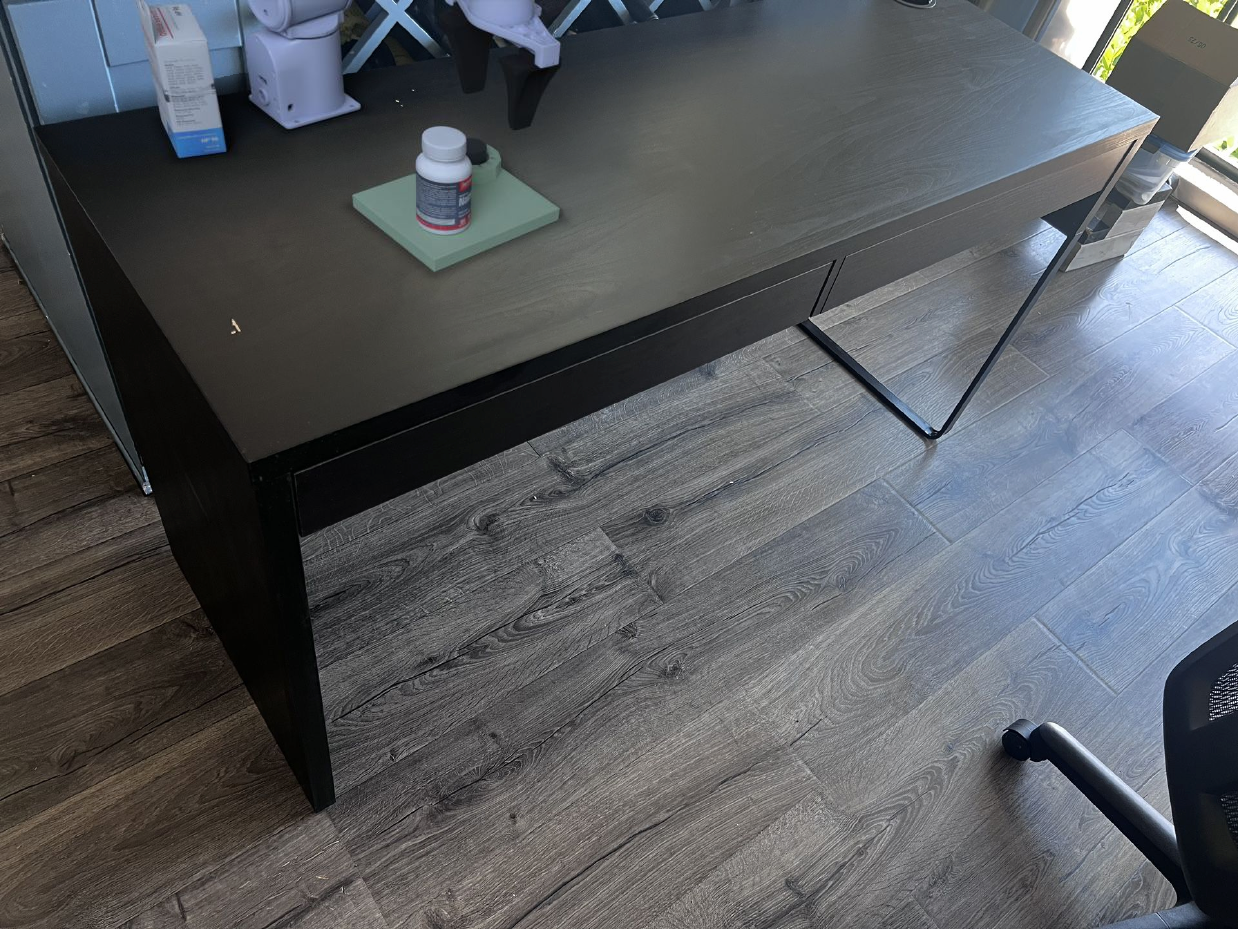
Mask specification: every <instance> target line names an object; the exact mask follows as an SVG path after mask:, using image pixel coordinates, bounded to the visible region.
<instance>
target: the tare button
mask: <svg viewBox="0 0 1238 929" xmlns="http://www.w3.org/2000/svg"><path fill="white" fill-rule="evenodd" d="M487 145H488V144H487V143H486V142H485V141H483V140H481V139H479V138H475V137H466V156H467V157H468V158H469V160H470V161H471V164H472V165H480V164H483V163H485V162H486V158H487Z"/></svg>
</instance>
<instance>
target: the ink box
mask: <svg viewBox="0 0 1238 929" xmlns="http://www.w3.org/2000/svg"><path fill="white" fill-rule="evenodd" d="M135 2H136V7H137V13H138V17H139V22H140V26H141V31H142V36H143V42H144V45H145V50H146V55H147V58H148V59H147V60H148V62H149V63H148V64H149V69H150V73H151V77H152V81H153V86H154V91H155V94H156V95H155V96H156V100H157V105H158V111H159V115H160V119H161V122H162V124H163V127H164V129H165V131H166V133H167V135H168V136H167V137H168V138H169V140H170V142H171V145H172V147H173V149H174V151H175V153H176V156H177V157H178V158H179V159H184V158H191V157H197V156H205V155H206V156H207V155H212V154H219V153H226V152H227V145H226V139H225V134H224V128H223V123H222V117H221V116H222V115H221V112H220V106H219V101H218V94H217V90H216V89H217V88H216V84H215V78H214V72H213V71H214V70H213V65H212V59H211V54H210V47H209V40H208V38H207V36H206V34H205V32H204V31H203V28H202V27H201V25H200V23H199V21H198V19H197V17H196V15H195V14H194V12H193V9H192V8H191V6H189V4H188V3H177V4H175V3H174V4H158V5H148V4H147V2H146V0H135Z"/></svg>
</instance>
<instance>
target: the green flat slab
mask: <svg viewBox="0 0 1238 929" xmlns="http://www.w3.org/2000/svg"><path fill="white" fill-rule="evenodd" d="M486 145H487V158H486V162H485V163H483V164H480V165H472V192H471V220H470V224H469V226H468V227H467V228H466V229H465V230H464V231H462V232H460V233H457V234H453V235H438V234H434V233H431V232H428V231H426V230H424V229H423V228H422V227H421V226H420V225H419V224H418V222H417V220H416V172H415V173H411V174H409V175H406V176H403V177H401V178H397V179H395V180H391V181H389V182H386V183H382V184H379V185H377V186H374V187H371V188H368V189H366V190H363V191H359V192H356V193H354V194H352V196H351V197H352V207H353V208H354V209H355V210H357V211H358V212H359V213H360V214H361V215H363V216H364V217H365V218H367V219H368V220H369V221H370V222H371V223H373V224H374V225H375V226H377V227H378V228H379V229H380V230H381V231H382V232H384V233H385V234H386V235H388V236H389V237H390V238H391V239H393V240H394V242H396V243H398V245H400V246H401V247H403V248H404V249H405V250H406V251H408V252H409V253H410V254H411V255H412V256H414V257H415V258H416V259H418V260H419V261H420V262H421V263H423V264H424V265H425V266H426V267H428V268H429V269H430V270H431V271H432V272H434V273H435V272H438V271H440V270H443V269H445V268H448V267H450V266H452V265H454V264H458V263H459V262H462V261H464V260H466V259H468V258H471V257H473V256H476V255H478V254H481V253H483V252H487V250H491V249H492V248H495V247H497V246H501V245H502V244H504V243H507V242H510V241H511V240H514V239H516V238H520V237H521V236H524V235H527V234H528V233H530V232H533V231H536V230H538V229H540V228H543V227H545V226H548V225H550V224H552V223H555V222H556V221H559V218H560V210H561V207H559V206H557V205H556V204H555V203H553V202H551V200H549V199H547V198H546V197H544V196H543V195H542V194H540V193H539V192H537V191H536V190H534V189H533V188H532V187H530V186H528V185H527V184H526V183H525V182H523V181H521V180H520V179H519V178H517V177H516V176H514V175H513V174H511V173H510V172H508V171H507V170H505V169H504V168H503V167H502V157H501V155H500V152H499V151H498V150H497V149H495V148H494V147H492V146H491V145H490V144H486Z"/></svg>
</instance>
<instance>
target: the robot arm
mask: <svg viewBox="0 0 1238 929" xmlns="http://www.w3.org/2000/svg"><path fill="white" fill-rule="evenodd" d="M353 1H354V0H247V4H248V6H249V8H250V10H251V11H252V13H253V15H254V16H255V18H256V19H257V20H258V21H259V22H260V24H261V25H262V27H261V28H259V29H257V30H255V31H254V32H251V33H249V34H247V36H246V37H245V42H244V46H245V47H244V50H245V51H244V52H245V57H246V58H245V59H246V64H247V73H248V78H249V85H250V86H249V87H250V91H251V92H250V93H251V94H249V95H248V99H249V101H251V103H253V104H254V105H255V106H256V107H257V108H259V109H261V110H262V111H263V112H264V113H266V114H267V115H268V116H269V117H271V118H272V119H273V120H275V121H276V122H277V123H278V124H280V125H281V126H282V127H284V128H285V129H286V130H293V129H297V128H299V127H303V126H307V125H311V124H314V123H317V122H321V121H324V120H328V119H331V118H335V117H339V116H343V115H345V114H350V113H352V112H356V111H360V110H361V109H362V106H361V103H359V102H358V101H356V100H355V99H353V98H352V96H350V95H348V94H347V93H345V89H344V88H345V87H344V74H343V61H342V48H341V46H342V45H341V35H340V34H341V32H340V25H341V24H342V23H345V14H344V12H346V11H347V10H349V9H350V7H351V6H352V4H353ZM444 1H445V3H446V4H448V5H449V6H451V7H452V8H451V9H450V11H449V12H448V11H447V12H442V13H441V14H440V15H439V24H440V25H441V28H442V29H443V31H444V34H445V35H446V37H447V40H448V42H449V44H450V48H451V50H452V53H453V57H454V60H455V66H456V69H457V73H458V78H459V82H460V87H461V90H462V93H463V94H465V95H466V96H467V95H471V94H475V93H479V92H482V91H483V92H484V89H485V87H486V82H487V77H488V76H487V75H488V67H489V66H488V65H489V58H490V57H489V56H490V53H491V52H490V51H491V47H492V42H493V39H494V35H495V36H497V37H500V38H502V39H505V40H507V41H509V42H510V43H512V44H513V45H514V46H516V47H517V48H518V52H517V53H512V54H507V55H503V56H499V57H498V61H499V65H500V67H501V71H502V73H503V76H504V80H505V85H506V86H505V87H506V93H507V94H506V95H507V121H508V126H509V129H511V130H512V131H515V132H516V131H520V130H523V129H526V128H527V129H528V128H530V127H531V126H532V123H533V121H534V118H535V114H536V112H537V109H538V108H539V103H540V102H541V99H542V96H543V94H544V93H545V91H546V89H547V87H548V85H549V84H550V82H551V81H552V79H553V77H554V76H555V75H556V74H557V73H558V71H559V70H560V69H561V67H562V63H563V59H562V57H561V55H560V54H561V52H560V51H561V42H560V41H559V40H557V39H556V38H555V37H554V36H553V35H552V34H551V33H550V31H549V30H548V28H547V27H546V25H545V24H544V23H543V22H542V20H541V19H540V17H541V16H542V9H543V8H542V6H540V5H539V4H538V3H536V2H535V0H444Z"/></svg>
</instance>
